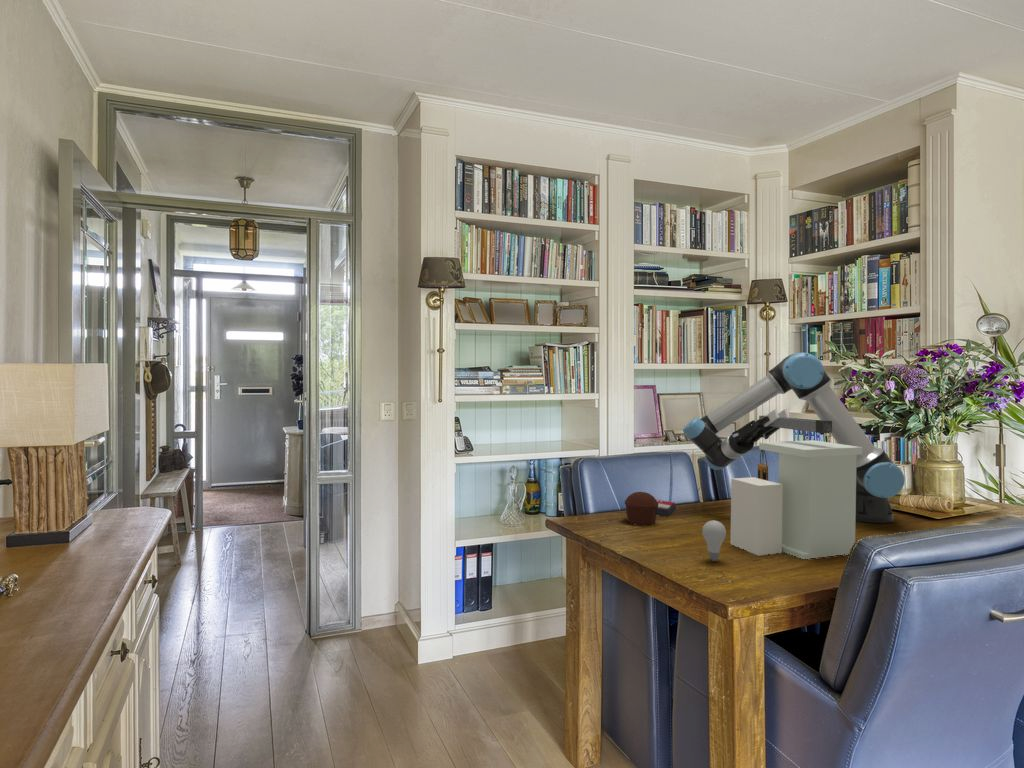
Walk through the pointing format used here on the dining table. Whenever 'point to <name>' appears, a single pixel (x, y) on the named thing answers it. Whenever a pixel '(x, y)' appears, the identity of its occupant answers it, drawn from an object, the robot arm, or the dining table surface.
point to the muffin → (641, 508)
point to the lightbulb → (714, 538)
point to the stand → (817, 496)
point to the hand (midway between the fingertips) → (781, 413)
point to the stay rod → (802, 424)
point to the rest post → (756, 515)
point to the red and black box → (665, 508)
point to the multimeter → (763, 468)
